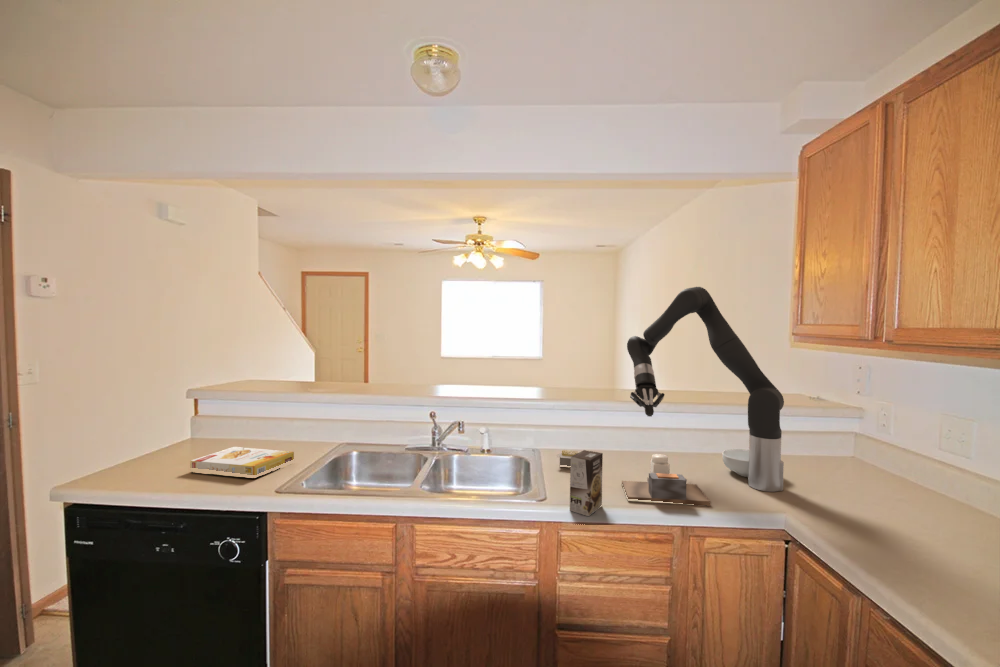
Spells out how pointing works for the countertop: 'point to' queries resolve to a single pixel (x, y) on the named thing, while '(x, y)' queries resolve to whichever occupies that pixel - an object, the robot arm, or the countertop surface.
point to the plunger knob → (659, 464)
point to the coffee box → (586, 482)
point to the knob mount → (666, 490)
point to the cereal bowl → (737, 461)
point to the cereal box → (243, 460)
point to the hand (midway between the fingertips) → (650, 415)
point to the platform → (566, 457)
